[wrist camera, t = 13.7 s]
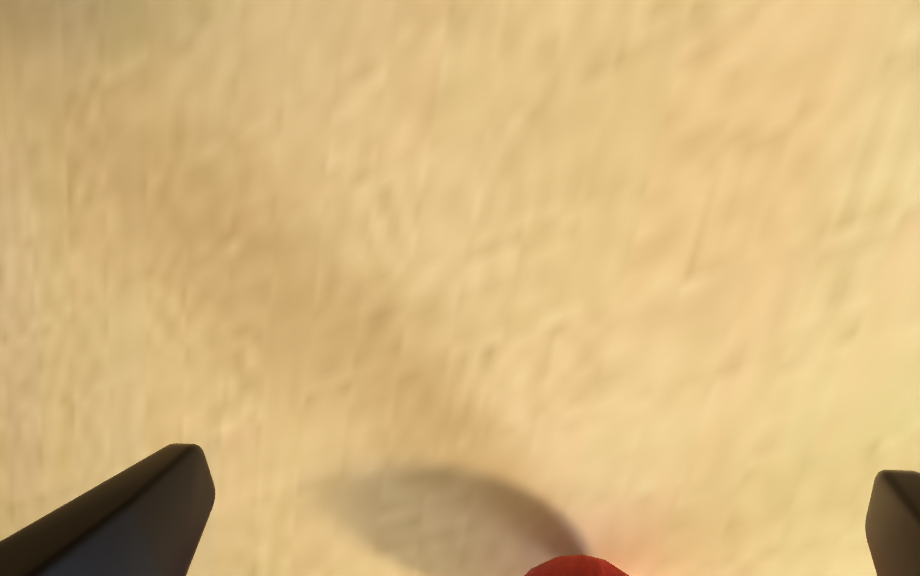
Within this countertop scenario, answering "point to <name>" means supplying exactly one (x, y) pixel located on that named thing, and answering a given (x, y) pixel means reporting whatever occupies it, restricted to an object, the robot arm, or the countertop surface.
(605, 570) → the onion
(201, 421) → the countertop surface
